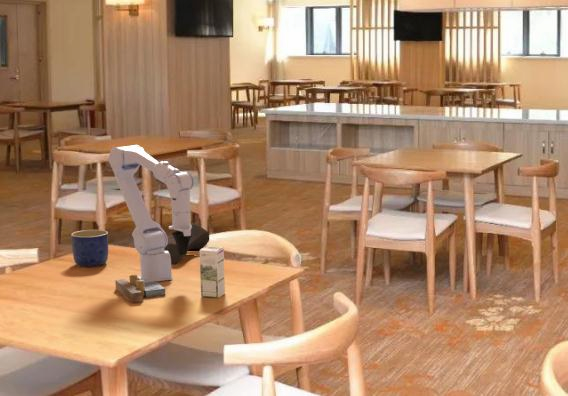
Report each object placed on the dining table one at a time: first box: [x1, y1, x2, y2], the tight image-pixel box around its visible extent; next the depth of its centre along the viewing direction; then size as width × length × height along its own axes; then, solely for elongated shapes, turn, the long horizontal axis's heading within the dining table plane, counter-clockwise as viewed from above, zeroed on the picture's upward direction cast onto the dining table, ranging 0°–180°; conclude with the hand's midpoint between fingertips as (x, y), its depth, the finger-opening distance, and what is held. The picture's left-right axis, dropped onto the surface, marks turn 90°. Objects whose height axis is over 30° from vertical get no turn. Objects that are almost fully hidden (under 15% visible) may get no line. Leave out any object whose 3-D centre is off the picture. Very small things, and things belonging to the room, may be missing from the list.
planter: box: [70, 229, 109, 268], centre depth 343 cm, size 12×12×11 cm
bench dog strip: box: [114, 274, 146, 304], centre depth 302 cm, size 5×18×5 cm, turn 25°
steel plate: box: [144, 281, 166, 298], centre depth 305 cm, size 6×10×2 cm, turn 24°
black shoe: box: [164, 223, 210, 265], centre depth 355 cm, size 11×10×28 cm
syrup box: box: [199, 245, 226, 299], centre depth 299 cm, size 6×6×14 cm
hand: (182, 254), depth 311 cm, fingers closed
